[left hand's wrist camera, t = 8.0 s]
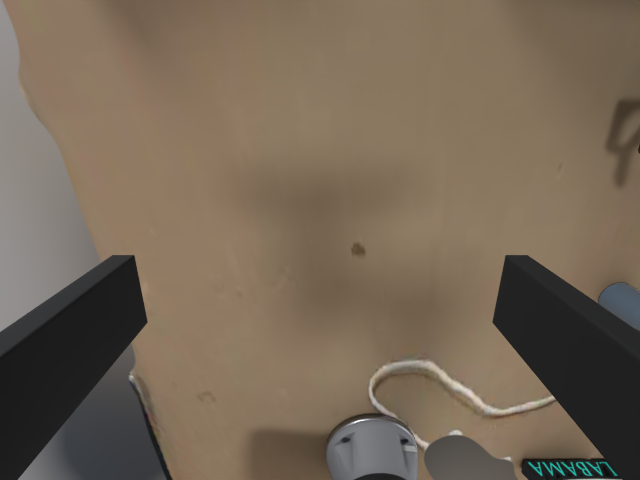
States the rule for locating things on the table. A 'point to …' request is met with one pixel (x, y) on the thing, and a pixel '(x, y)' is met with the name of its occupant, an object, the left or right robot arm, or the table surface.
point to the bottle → (622, 303)
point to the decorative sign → (569, 470)
